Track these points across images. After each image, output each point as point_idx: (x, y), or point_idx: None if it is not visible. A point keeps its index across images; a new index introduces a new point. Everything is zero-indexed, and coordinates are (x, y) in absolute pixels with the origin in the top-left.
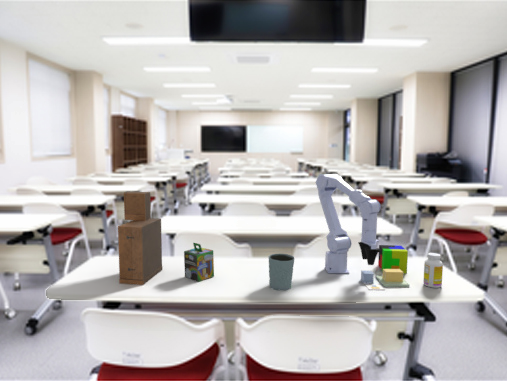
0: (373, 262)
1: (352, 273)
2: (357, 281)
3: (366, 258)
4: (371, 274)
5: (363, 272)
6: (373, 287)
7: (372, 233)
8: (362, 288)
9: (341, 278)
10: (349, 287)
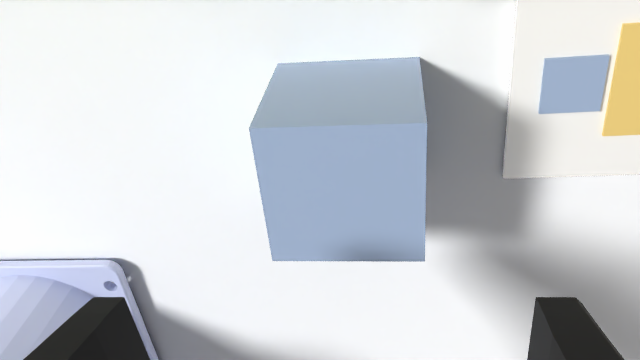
0: (607, 356)
1: (91, 224)
2: None
3: (124, 338)
4: (424, 150)
5: (366, 253)
6: (634, 107)
7: None
8: (615, 226)
9: (294, 344)
10: None
